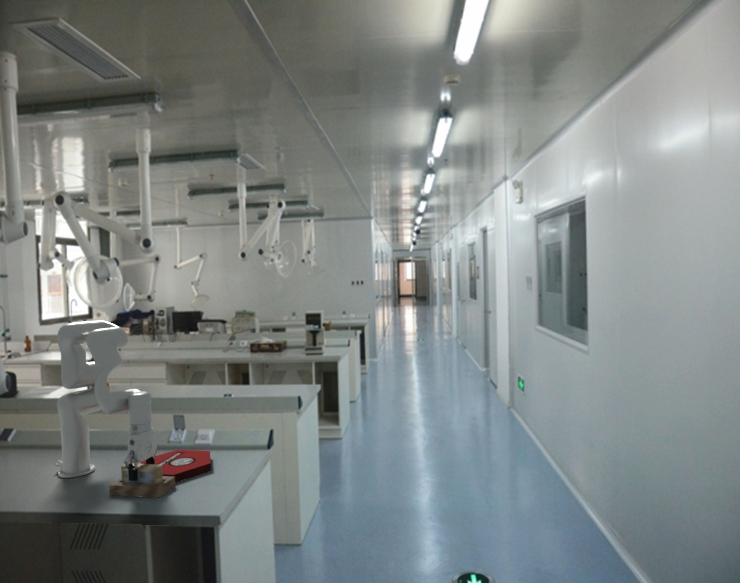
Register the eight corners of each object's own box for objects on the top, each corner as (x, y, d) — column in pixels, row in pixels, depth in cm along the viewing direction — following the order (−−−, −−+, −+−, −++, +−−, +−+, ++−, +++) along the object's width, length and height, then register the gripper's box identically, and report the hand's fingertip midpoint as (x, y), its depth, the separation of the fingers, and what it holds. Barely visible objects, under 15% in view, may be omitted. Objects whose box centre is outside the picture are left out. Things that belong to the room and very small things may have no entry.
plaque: (119, 481, 193) (192, 485, 187) (119, 472, 193) (192, 475, 187) (161, 457, 219) (227, 460, 213) (161, 448, 219) (226, 451, 213)
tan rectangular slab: (122, 488, 182) (121, 466, 182) (127, 485, 185) (126, 463, 185) (157, 490, 179) (157, 467, 179) (162, 487, 182) (162, 464, 182)
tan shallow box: (109, 495, 179) (109, 485, 179) (128, 483, 189) (127, 474, 189) (158, 497, 176) (158, 487, 176) (175, 486, 185) (174, 476, 185)
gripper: (134, 434, 173) (136, 485, 173) (164, 420, 190) (165, 466, 190) (114, 434, 174) (116, 484, 175) (146, 420, 191) (147, 465, 191)
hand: (142, 475), depth 182 cm, fingers open, 9 cm apart
